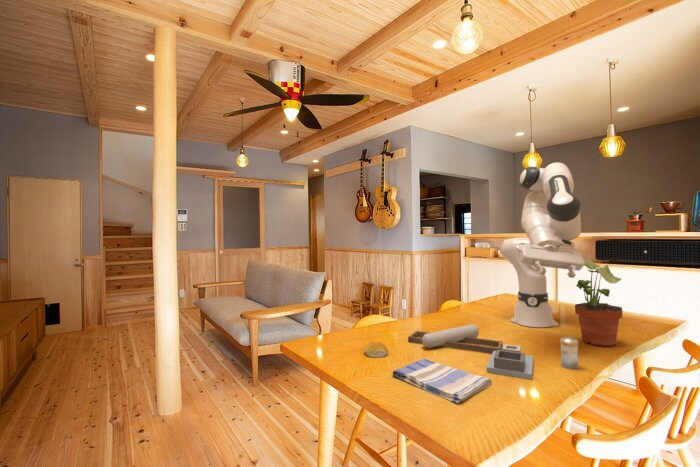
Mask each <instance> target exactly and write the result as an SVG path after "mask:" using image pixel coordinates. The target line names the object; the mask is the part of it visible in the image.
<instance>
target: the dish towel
mask: <svg viewBox="0 0 700 467" xmlns="http://www.w3.org/2000/svg"><path fill="white" fill-rule="evenodd" d="M392 376H393V377H395V378H398V379H399V380H402V381H404V382H406V383H408V384H409V385H412V386H415V387H418V388H419V389H422V390H424V391H425V392H427V393H429V394H432V395H434V396H437V397H440V398H443V399H446V400H447V401H450V402H452V403H455V404H459V403H463V402H465V401H467V400H468V399H469V398H471V397H472V396H474V395H475V394H478V392H480V391H482V390H484V389H486V388H487V387H490V386H491V384H492V383H493V382H492V379H491V378H490V377H487V376H481V375H478V374H477V375H476V374H473V373H471V372H468V371H465V370H461V369H457V368H454V367H451V366H448V365H447V364H441V363H437V362H436V361H433V360H430V359H427V358H423V359H420V360H417V361H414V362H412V363H411V362H410V364H406V365H405V366H402V367H400V368H397V369H395V370H392Z"/></svg>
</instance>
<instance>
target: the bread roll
mask: <svg viewBox="0 0 700 467" xmlns="http://www.w3.org/2000/svg"><path fill="white" fill-rule="evenodd" d="M388 353H389V349H388V347H387V346H386V345H385V344H384V343H382V342H380V341H371V342H370V343H368V344H366V345H365V347H364V354H365V355H366V356H367V357H369V358H378V359H379V358H384V357H386V356H387V355H388Z"/></svg>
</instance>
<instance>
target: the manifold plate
mask: <svg viewBox="0 0 700 467" xmlns="http://www.w3.org/2000/svg"><path fill="white" fill-rule="evenodd" d="M521 348H522V346H520V345H514V344H507V343H506V344H505V343H503V348H502V350H497V351H493V353H492V354H491V356H490V359H489V360H488V363H487V365H486V373H489V374H494V375H495V374H496V375H501V376H506V377H507V376H508V377H512V378H513V377H514V378H519V379H520V378H521V379H525V380H531V381H532V379H533V367H534V355H528V354H526V353H525V352H522V349H521Z"/></svg>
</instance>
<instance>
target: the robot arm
mask: <svg viewBox="0 0 700 467" xmlns="http://www.w3.org/2000/svg"><path fill="white" fill-rule="evenodd" d="M574 181H575V180H574V176H573V175H572V173H571V171H570V169H569V167H568V166H567V165H566V164H565V163H562V162H556V161H555V162H552V163H550V164H548V165H546V167H545V168H544V167H537V166H527V167H526V168H524V169H523V171H522V172H521V174H520V176H519V185H520V187H522V188H523V189H525V190H531V191H529V192H528V193H527V194H526V197H525V199H524V201H523V206H522V213H521V220H520V226H521V228H522V230H524V231H525V235H526V236H527V237H525V236H524V237H521V236H519V237H511V238H506V239H504V241H502V243H501V246H500V253H501V255H502V256H503V258H504V259H505V260H507V262H509V263H510V264H511V265H512V266H513V267H514V269H515V271H516V274H517V279H518V280H517V281H518V291H517V299H518V301H517V302H516V303H514V316H513V317H511V318H510V319H509V321H510V322H511V323H515V324H518V325H520V326H525V327H529V328H550V327H558V326H559V324H558V322H557V321H556V319H554V318H553V317H554V314H553V306H552V305H551V304H549V294H548V291H547V289H548V287H547V276H546V275H545V274H546V273H547V269H546V268H553V269H561V270H568V272H567V276H568V278H571V279H575V277H576V272H575V271H577V272H578V271H581V269H582V268H583V267H585V265H584V264H585V261H584V259H583V257H584V256H583V255H582V254H581V252H580V251H579V250H578V248H575V246H576V245H575V243H574V242H573V240H575V239H576V238H578V237H579V235H581V233H582V222H581V201H580V199H579V198H578V197H577V196H576V195H575V194H574V189H575V188H574V187H575V185H574V184H575V183H574ZM582 256H583V257H582Z"/></svg>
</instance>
